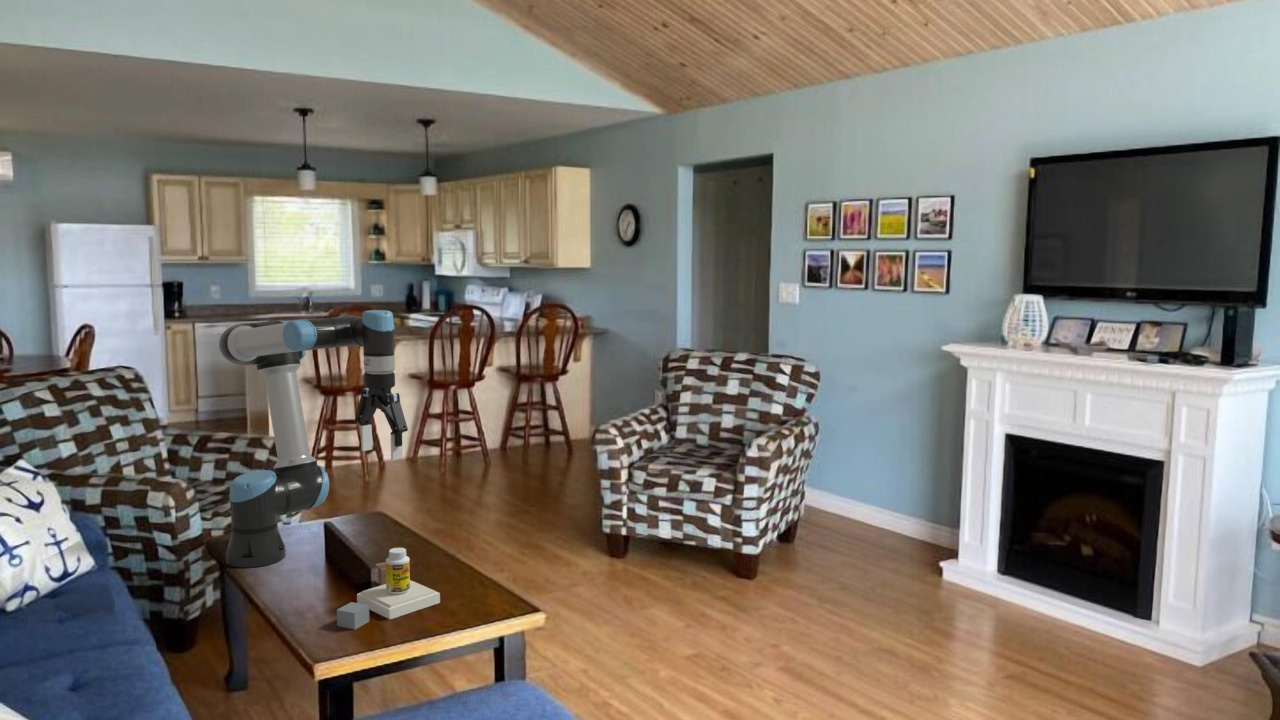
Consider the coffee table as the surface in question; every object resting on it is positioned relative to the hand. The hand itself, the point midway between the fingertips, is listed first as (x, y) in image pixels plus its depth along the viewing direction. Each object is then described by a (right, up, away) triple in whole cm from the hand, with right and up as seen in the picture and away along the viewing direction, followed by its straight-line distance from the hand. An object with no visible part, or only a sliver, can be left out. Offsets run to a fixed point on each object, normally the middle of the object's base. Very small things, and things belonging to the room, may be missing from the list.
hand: (381, 454), depth 240 cm
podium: (+8, -35, -12) cm, 38 cm away
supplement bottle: (+8, -32, -13) cm, 35 cm away
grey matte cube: (0, -36, -25) cm, 44 cm away
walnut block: (+1, -33, 0) cm, 33 cm away
